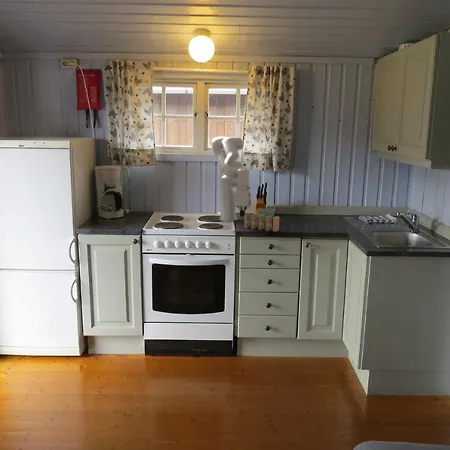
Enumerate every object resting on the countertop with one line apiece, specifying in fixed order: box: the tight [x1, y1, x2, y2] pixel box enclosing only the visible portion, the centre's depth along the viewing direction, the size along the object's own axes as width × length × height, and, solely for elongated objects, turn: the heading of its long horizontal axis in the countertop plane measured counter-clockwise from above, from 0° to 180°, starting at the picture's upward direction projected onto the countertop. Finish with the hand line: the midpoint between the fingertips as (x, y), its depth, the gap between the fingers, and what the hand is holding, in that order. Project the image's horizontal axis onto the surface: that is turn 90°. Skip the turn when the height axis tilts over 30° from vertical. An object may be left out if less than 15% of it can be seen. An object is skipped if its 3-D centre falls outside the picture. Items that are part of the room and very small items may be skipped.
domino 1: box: [243, 212, 252, 229], centre depth 304 cm, size 2×5×9 cm, turn 151°
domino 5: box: [272, 216, 280, 232], centre depth 295 cm, size 2×5×9 cm, turn 151°
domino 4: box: [264, 215, 273, 232], centre depth 297 cm, size 2×5×9 cm, turn 151°
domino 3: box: [257, 214, 266, 231], centre depth 299 cm, size 2×5×9 cm, turn 151°
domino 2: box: [250, 213, 259, 230], centre depth 302 cm, size 2×5×9 cm, turn 151°
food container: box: [258, 206, 277, 224], centre depth 318 cm, size 12×6×10 cm, turn 112°
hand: (242, 216), depth 305 cm, fingers closed
